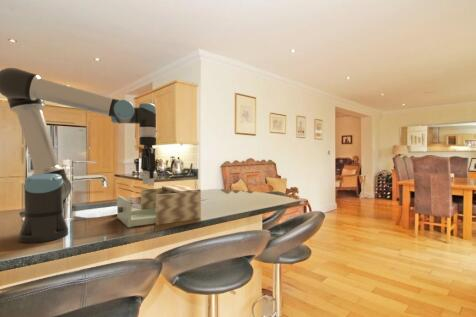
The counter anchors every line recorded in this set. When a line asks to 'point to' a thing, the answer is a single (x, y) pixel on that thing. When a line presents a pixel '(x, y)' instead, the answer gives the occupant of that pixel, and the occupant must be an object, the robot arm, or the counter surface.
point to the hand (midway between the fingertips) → (148, 184)
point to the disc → (146, 174)
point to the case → (172, 203)
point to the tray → (134, 214)
